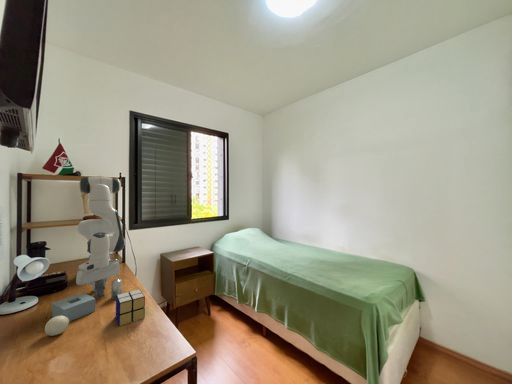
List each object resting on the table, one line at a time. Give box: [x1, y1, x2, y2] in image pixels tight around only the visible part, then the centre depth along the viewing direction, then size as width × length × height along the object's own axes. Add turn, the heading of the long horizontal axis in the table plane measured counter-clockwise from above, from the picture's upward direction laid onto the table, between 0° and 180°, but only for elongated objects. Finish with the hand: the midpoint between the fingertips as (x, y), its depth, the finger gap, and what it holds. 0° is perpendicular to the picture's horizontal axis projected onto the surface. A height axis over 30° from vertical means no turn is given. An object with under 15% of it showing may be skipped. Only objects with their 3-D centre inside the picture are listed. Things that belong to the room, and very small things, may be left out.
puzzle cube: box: [115, 288, 146, 327], centre depth 97 cm, size 10×10×10 cm
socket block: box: [51, 292, 96, 322], centre depth 100 cm, size 12×12×6 cm
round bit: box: [110, 278, 123, 300], centre depth 117 cm, size 5×5×9 cm
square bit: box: [93, 279, 105, 298], centre depth 118 cm, size 3×3×9 cm
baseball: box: [44, 316, 70, 337], centre depth 86 cm, size 7×7×7 cm
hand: (99, 287), depth 118 cm, fingers closed on square bit, 3 cm apart
